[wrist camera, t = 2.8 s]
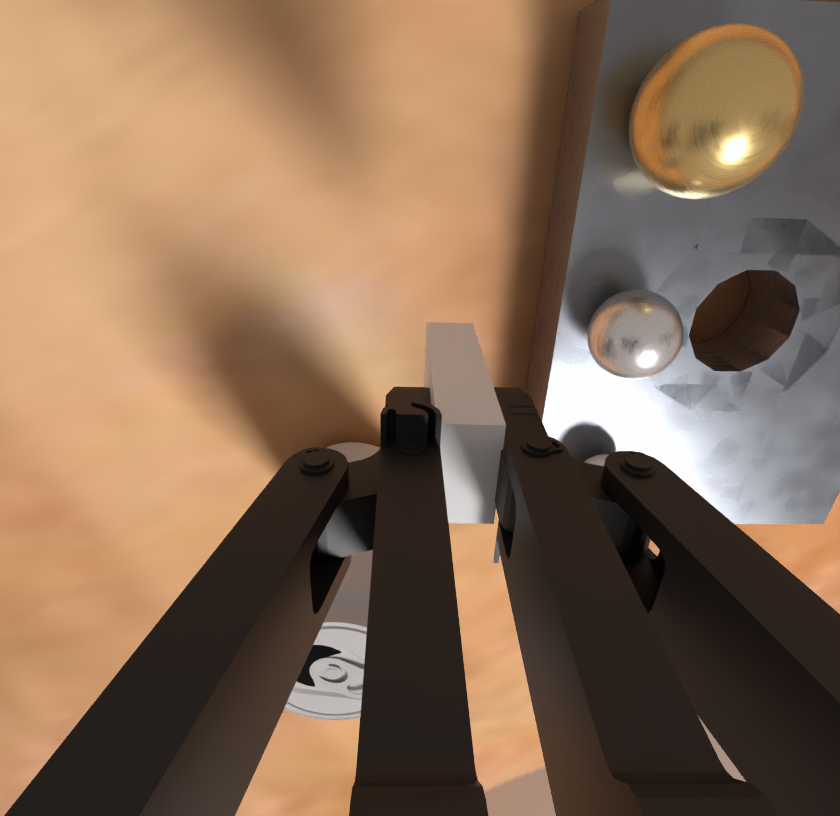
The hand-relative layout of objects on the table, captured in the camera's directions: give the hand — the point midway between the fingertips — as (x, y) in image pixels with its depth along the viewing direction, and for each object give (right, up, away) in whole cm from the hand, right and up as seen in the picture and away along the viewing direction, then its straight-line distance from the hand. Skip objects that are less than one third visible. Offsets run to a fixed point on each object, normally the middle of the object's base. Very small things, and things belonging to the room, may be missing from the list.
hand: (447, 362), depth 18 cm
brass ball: (+8, +8, -1) cm, 11 cm away
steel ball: (+8, +1, +3) cm, 8 cm away
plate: (+13, +4, +8) cm, 16 cm away
